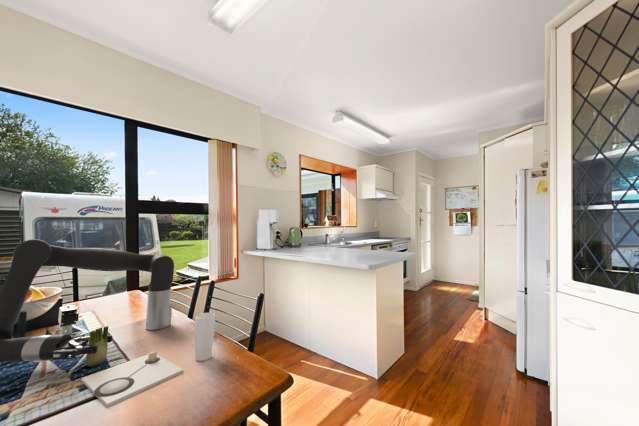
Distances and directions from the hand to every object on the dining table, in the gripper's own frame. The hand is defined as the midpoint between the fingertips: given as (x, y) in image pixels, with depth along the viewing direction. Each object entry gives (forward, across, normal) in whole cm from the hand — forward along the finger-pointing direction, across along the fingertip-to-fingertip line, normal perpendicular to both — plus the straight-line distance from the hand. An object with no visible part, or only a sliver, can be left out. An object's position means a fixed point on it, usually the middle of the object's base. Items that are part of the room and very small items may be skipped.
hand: (104, 343), depth 87 cm
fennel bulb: (-2, 0, +7) cm, 7 cm away
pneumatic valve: (-30, +30, +7) cm, 43 cm away
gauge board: (+14, -10, +7) cm, 18 cm away
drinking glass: (+32, -1, +7) cm, 33 cm away
